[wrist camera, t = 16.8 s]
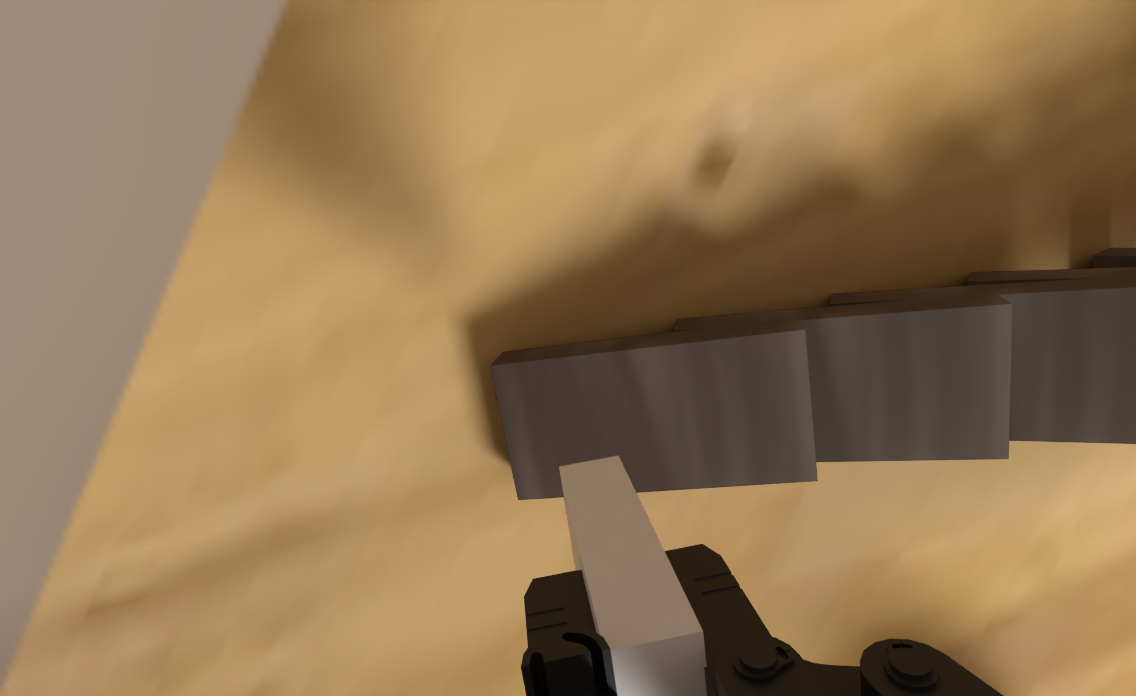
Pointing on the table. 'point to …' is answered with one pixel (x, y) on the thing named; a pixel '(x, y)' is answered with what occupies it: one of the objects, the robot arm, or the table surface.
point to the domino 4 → (1116, 258)
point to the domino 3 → (1060, 355)
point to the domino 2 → (904, 376)
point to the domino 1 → (662, 408)
